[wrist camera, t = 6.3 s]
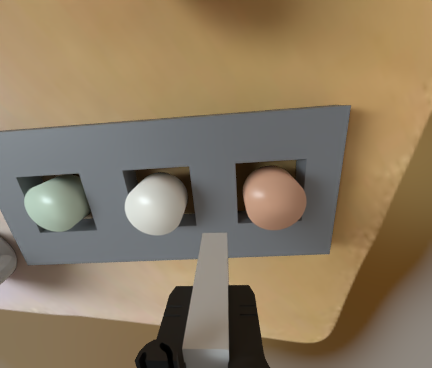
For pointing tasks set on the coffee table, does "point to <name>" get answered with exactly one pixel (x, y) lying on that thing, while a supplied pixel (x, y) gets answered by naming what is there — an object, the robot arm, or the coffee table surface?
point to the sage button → (57, 203)
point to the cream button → (157, 204)
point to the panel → (166, 158)
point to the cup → (6, 260)
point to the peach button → (273, 198)
